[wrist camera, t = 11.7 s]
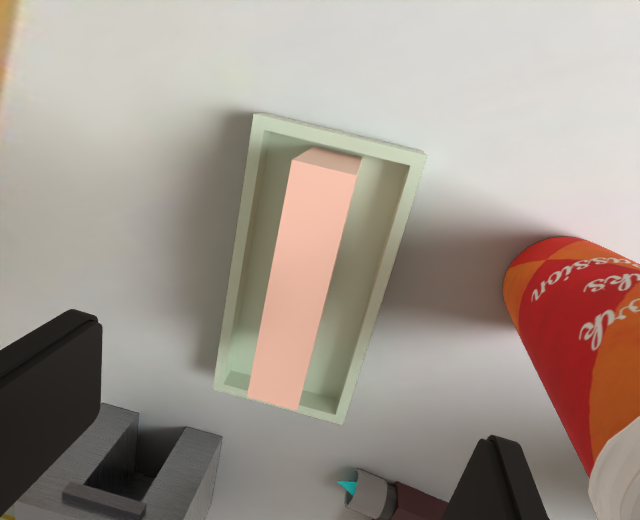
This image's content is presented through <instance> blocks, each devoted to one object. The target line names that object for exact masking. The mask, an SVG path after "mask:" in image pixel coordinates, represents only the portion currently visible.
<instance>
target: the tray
mask: <svg viewBox="0 0 640 520" xmlns="http://www.w3.org/2000/svg"><path fill="white" fill-rule="evenodd" d="M314 146H320V147H324V148H329V149H333V150H337V151H341V152H345V153H349V154H353V155H357V156H361V157H362V161H361V165H360V169H359V173H358V177H357V181H356V185H355V189H354V192H353V196H352V200H351V204H350V208H349V212H348V216H347V220H346V224H345V228H344V232H343V236H342V240H341V244H340V248H339V251H338V255H337V259H336V263H335V267H334V271H333V275H332V279H331V283H330V287H329V291H328V295H327V299H326V303H325V307H324V310H323V314H322V318H321V322H320V326H319V330H318V334H317V338H316V342H315V346H314V349H313V353H312V357H311V361H310V364H309V368H308V372H307V375H306V379H305V383H304V387H303V390H302V394H301V398H300V402H299V405H298V409H297V411H296V410H292V409H289V408H285V407H281V406H278V405H274V404H271V403H267V402H263V401H260V400H256V399H252V398H249V397H247V394H248V388H249V383H250V378H251V373H252V367H253V362H254V357H255V351H256V346H257V341H258V336H259V330H260V325H261V320H262V315H263V309H264V304H265V299H266V294H267V288H268V283H269V278H270V273H271V267H272V262H273V257H274V252H275V246H276V241H277V236H278V231H279V225H280V220H281V215H282V210H283V204H284V199H285V194H286V189H287V183H288V178H289V173H290V168H291V162H292V159H294V158H296V157H297V156H299V155H301V154H302V153H304V152H306V151H307V150H309V149H311V148H312V147H314ZM426 159H427V155H426V154H425V153H424V152H423V151H421V150H417V149H413V148H408V147H404V146H400V145H396V144H392V143H388V142H384V141H380V140H375V139H371V138H367V137H363V136H359V135H355V134H351V133H346V132H342V131H338V130H334V129H330V128H326V127H322V126H318V125H313V124H309V123H305V122H301V121H297V120H293V119H289V118H284V117H280V116H276V115H272V114H268V113H255V114H253V121H252V128H251V134H250V141H249V148H248V155H247V161H246V168H245V175H244V181H243V188H242V195H241V201H240V208H239V215H238V222H237V228H236V235H235V242H234V248H233V255H232V262H231V268H230V275H229V282H228V289H227V295H226V302H225V309H224V315H223V322H222V329H221V335H220V342H219V349H218V356H217V362H216V369H215V376H214V382H213V390H216V391H220V392H224V393H227V394H231V395H235V396H238V397H242V398H245V399H249V400H253V401H256V402H260V403H264V404H267V405H271V406H274V407H278V408H282V409H285V410H289V411H293V412H296V413H300V414H303V415H307V416H311V417H314V418H318V419H322V420H325V421H329V422H332V423H336V424H340V425H343V424H344V421H345V418H346V414H347V411H348V408H349V405H350V402H351V398H352V395H353V392H354V389H355V386H356V382H357V379H358V376H359V373H360V370H361V367H362V363H363V360H364V357H365V354H366V351H367V347H368V344H369V341H370V338H371V335H372V331H373V328H374V325H375V322H376V319H377V316H378V312H379V309H380V306H381V303H382V300H383V296H384V293H385V290H386V287H387V284H388V280H389V277H390V274H391V271H392V268H393V265H394V261H395V258H396V255H397V252H398V249H399V245H400V242H401V239H402V236H403V233H404V229H405V226H406V223H407V220H408V217H409V214H410V210H411V207H412V204H413V201H414V198H415V194H416V191H417V188H418V185H419V182H420V178H421V175H422V172H423V169H424V166H425V163H426Z"/></svg>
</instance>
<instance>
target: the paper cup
mask: <svg viewBox="0 0 640 520" xmlns="http://www.w3.org/2000/svg"><path fill="white" fill-rule="evenodd" d="M503 297H504V301H505V304H506V307H507V310H508V312H509V314H510V317H511V319H512V321H513V323H514V326H515V328H516V330H517V332H518V334H519V336H520V338H521V340H522V342H523V344H524V346H525V348H526V351H527V353H528V355H529V357H530V359H531V361H532V363H533V365H534V367H535V369H536V371H537V373H538V375H539V377H540V379H541V381H542V383H543V385H544V387H545V389H546V391H547V393H548V395H549V398H550V400H551V402H552V404H553V406H554V408H555V410H556V412H557V414H558V416H559V418H560V420H561V422H562V424H563V426H564V428H565V430H566V432H567V434H568V436H569V438H570V440H571V442H572V444H573V446H574V448H575V450H576V452H577V454H578V456H579V458H580V460H581V462H582V464H583V467H584V469H585V471H586V473H587V475H588V477H589V479H590V481H589V487H588V494H589V497H590V500H591V502H592V505H593V508H594V510H595V513H596V517H597V520H640V264H638V263H636V262H634V261H632V260H629V259H627V258H625V257H623V256H621V255H619V254H617V253H615V252H613V251H610V250H608V249H606V248H604V247H602V246H599V245H597V244H595V243H592V242H590V241H587V240H584V239H580V238H575V237H554V238H549V239H545V240H542V241H540V242H537V243H535V244H533V245H531V246H530V247H528V248H527V249H525V250H524V251H522V252H521V253H520V254H519V255H518V256H517V257H516V258H515V259H514V260H513V262H512V263H511V265H510V266H509V268H508V270H507V272H506V274H505V277H504V281H503Z"/></svg>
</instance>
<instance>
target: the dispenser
mask: <svg viewBox="0 0 640 520" xmlns="http://www.w3.org/2000/svg"><path fill="white" fill-rule="evenodd" d="M138 417H139V413H136V412H133V411H129V410H125V409H122V408H118V407H115V406H111V405H108V404H104V403H103V404H102V405H101V406H100V411H99V414H98V416H97V418H96V420H95V421H94V422H93V424H92V425H91V426H90V427H89V428H88V429H87V430H86V431H85V432H84V433H83V434H82V435H81V436H80V437H79V438H78V439H77V440H76V441H75V442H74V443H73V444H72V445H71V446H70V447H69V448H68V449H67V450H66V451H65V452H64V453H63V454H62V455H61V456H60V457H59V458H58V459H57V460H56V461H55V462H54V463H53V464H52V465H51V466H50V467H49V468H48V469H47V470H46V471H45V472H44V473H43V474H42V476H41V477H40V478H39V479H38V480H37V481H36V482H35V483H34V484H33V485H32V486H31V487H30V488H29V489H28V490H27V491H26V492H25V493H24V494H23V495H22V496H21V497H20V498H19V499H18V500H17V501H16V502H15V503H14V512H15V520H204V519H205V517H206V515H207V512H208V510H209V508H210V505H211V501H212V496H213V490H214V484H215V478H216V472H217V466H218V460H219V454H220V449H221V443H222V437H221V436H218V435H214V434H211V433H207V432H204V431H200V430H197V429H193V428H189V427H186V428H185V430H184V431H183V433H182V435H181V436H180V438H179V440H178V441H177V443H176V445H175V446H174V448H173V450H172V451H171V453H170V455H169V456H168V458H167V460H166V461H165V463H164V465H163V466H162V468H161V470H160V471H159V473H158V475H157V476H156V478H152V477H149V476H145V475H142V474H138V473H135V463H136V448H137V432H138Z"/></svg>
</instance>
